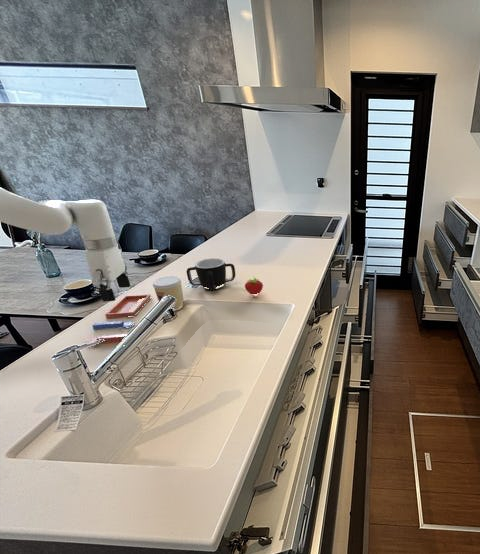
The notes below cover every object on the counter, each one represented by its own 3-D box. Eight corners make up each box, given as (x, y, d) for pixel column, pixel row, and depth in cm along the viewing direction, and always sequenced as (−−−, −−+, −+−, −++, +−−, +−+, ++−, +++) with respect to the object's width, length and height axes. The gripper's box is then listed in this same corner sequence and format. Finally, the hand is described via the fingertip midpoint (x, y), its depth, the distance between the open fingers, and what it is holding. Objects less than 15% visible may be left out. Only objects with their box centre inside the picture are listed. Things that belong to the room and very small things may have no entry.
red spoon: (131, 336, 104) (130, 332, 104) (126, 342, 101) (125, 338, 101) (90, 339, 102) (88, 335, 101) (83, 346, 99) (81, 341, 98)
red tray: (106, 319, 113) (105, 314, 113) (126, 300, 127) (125, 295, 126) (134, 317, 116) (133, 312, 115) (151, 298, 129) (150, 294, 128)
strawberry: (247, 294, 137) (244, 273, 133) (265, 293, 138) (262, 273, 134) (244, 300, 131) (242, 279, 127) (263, 299, 133) (260, 278, 129)
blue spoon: (91, 331, 106) (90, 327, 105) (97, 325, 109) (96, 321, 108) (131, 328, 109) (130, 324, 108) (136, 323, 112) (135, 318, 111)
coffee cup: (157, 306, 123) (150, 279, 118) (183, 300, 129) (177, 274, 124) (162, 316, 117) (154, 288, 112) (189, 308, 123) (183, 282, 118)
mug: (218, 276, 152) (214, 254, 147) (240, 284, 145) (237, 261, 140) (186, 288, 139) (181, 264, 134) (209, 297, 132) (204, 272, 127)
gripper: (102, 234, 97) (117, 283, 104) (66, 252, 82) (87, 307, 89) (129, 234, 99) (142, 281, 106) (99, 251, 84) (117, 305, 91)
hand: (117, 293), depth 97 cm, fingers open, 9 cm apart
